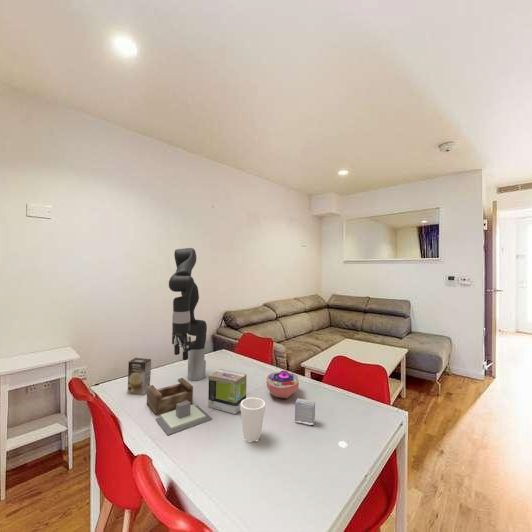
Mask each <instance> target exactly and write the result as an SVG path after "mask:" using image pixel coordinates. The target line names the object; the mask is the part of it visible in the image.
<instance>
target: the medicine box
mask: <svg viewBox="0 0 532 532" xmlns="http://www.w3.org/2000/svg"><path fill="white" fill-rule="evenodd" d="M314 420H315V421H316V401H315V400H310V399H304V398H296V401H295V402H294V422H295V421H301V422H308V423H314V424H315V422H314Z"/></svg>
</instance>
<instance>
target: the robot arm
mask: <svg viewBox="0 0 532 532" xmlns="http://www.w3.org/2000/svg"><path fill="white" fill-rule="evenodd" d="M173 255H174V261H175V265H176V266H175V267H176V269H175V273H173V274H172V275H171V277H170V278H169V280H168V288H169V289H170V291H172V292H175V293H179V292H180V294H181V296H176V297H175V298H174V299H173V301H172V317H171V318H172V319H171V321H172V325H171V326H172V328H171V329H172V331H171V332H172V333H171V344H172V345H173V348H174V350H173V351H174V352H173V353H174V356H177V355H180V354H181V353H180V352H181V350H182V360H183V361H187V379H188V380H189V381H200V380H203V379H204V378H206V371H207V370H206V367H207V361H206V359H205V358H206V357H205V354H206V351H205V349H206V348H205V346H206V342H207V333H208V331H207V330H208V326H207V325H208V324H207V323H206V321H205V320H204V319H203V320H202V319H196V318H195V309H196V307H197V305H198V302H199V299H200V294H199V287H198V285H197V284H196V283H195V279H194V278H193V277H192V271H193V269H194V267H195V266H196V264H197V253H196V250H195V249H194V248H193V247H186V248H184V247H183V248H178V249H175V250H174V254H173ZM191 336H193V337H195V340H193V341H192V339H191V338H192V337H191ZM180 348H181V349H180Z"/></svg>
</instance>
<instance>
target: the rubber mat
mask: <svg viewBox="0 0 532 532" xmlns="http://www.w3.org/2000/svg"><path fill="white" fill-rule="evenodd" d="M194 406H195V407H197V408H198V409H199V410H200V411H201V412H202V413H203V414H204V415H205V416H206V418H205V419H202V420H199V421H196V422H193V423H191V424H188V425H185V426H182V427H179V428H176V429H174V430H170V428H169V427H168V426H167V425H166V423H165V422H164V421H163V420H162V418H161V417H157V418H154V419H155V422H156V423H157V424H158V425H159V427H160V428H161V429H162V431H163V432H164V433H165V434H166V436H168V437H169V436H171V435H174V434H177V433H180V432H182V431H184V430H187V429H190V428H192V427H196V426H199V425H201V424H204V423H207V422H210V421H212V420H213V418H212V417H211V416H210V415H209V414H208V413H207V412H205V410H203V409H202V408H201V407H200V406H199V405H194Z"/></svg>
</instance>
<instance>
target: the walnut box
mask: <svg viewBox="0 0 532 532" xmlns="http://www.w3.org/2000/svg"><path fill="white" fill-rule="evenodd" d="M177 382H178V383H175V384H172V385H169V386H165V387H161V388H160V387H159V388H156V387H155V386H154V385H151V384H150V386H147V393H146V406H147V407H148V409H149V410H150V411H151V412H152V414H153V415H154V416H156V417H157V416H160V415H161V414H165V413H168V412H171V411H174V410H176V404H177V403H181V402H184V401H187V400H188V401H189V402H190V403H191V404H190V405H194V401H193V399H194V395H193V394H194V386H193V385H192V384H191V383H190V382H189V381H187V380H186V379H185V378H183V377H181V378H177Z"/></svg>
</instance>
